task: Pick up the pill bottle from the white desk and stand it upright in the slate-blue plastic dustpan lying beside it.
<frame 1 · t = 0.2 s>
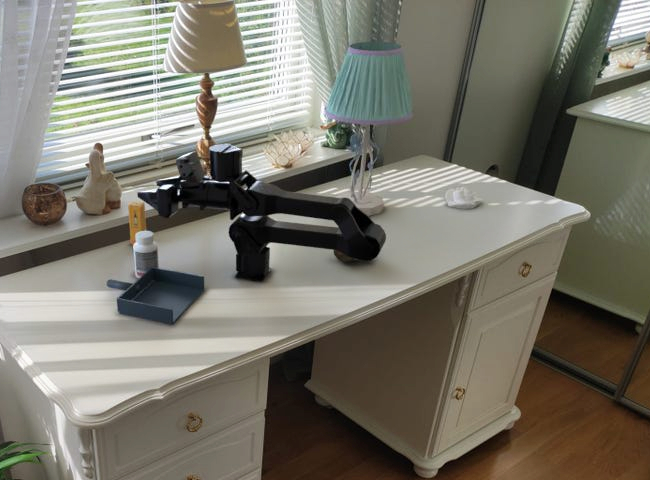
hand: (147, 188, 159), 17 cm above the table, tool horizontal, fingers open, 9 cm apart
supplement box: (139, 243, 175), on the table
table lamp: (358, 208, 191), on the table
dustpan: (163, 301, 149), on the table
pill bottle: (147, 275, 160), on the table
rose: (462, 203, 192), on the table
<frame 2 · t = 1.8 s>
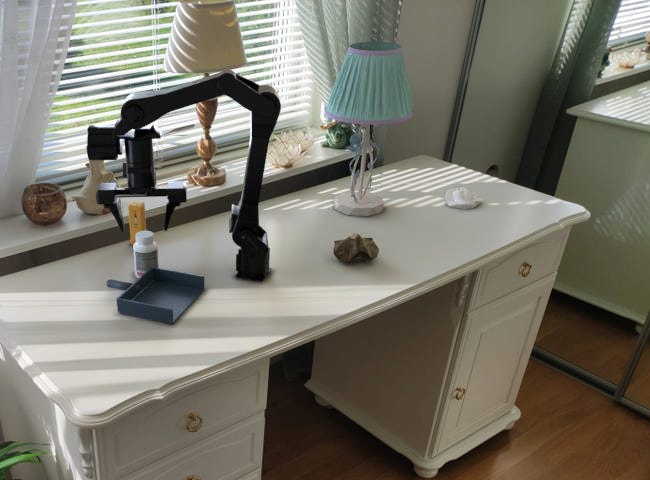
hand: (144, 230, 155), 10 cm above the table, tool pointing down, fingers open, 9 cm apart
nothing on the table moved.
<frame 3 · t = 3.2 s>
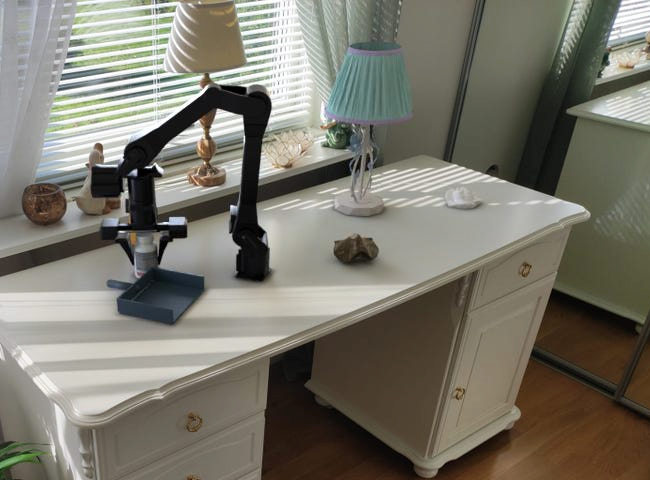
hand: (146, 264, 159), 3 cm above the table, tool pointing down, fingers closed on pill bottle, 5 cm apart
pill bottle: (147, 275, 160), on the table, touching gripper
everything else where it was.
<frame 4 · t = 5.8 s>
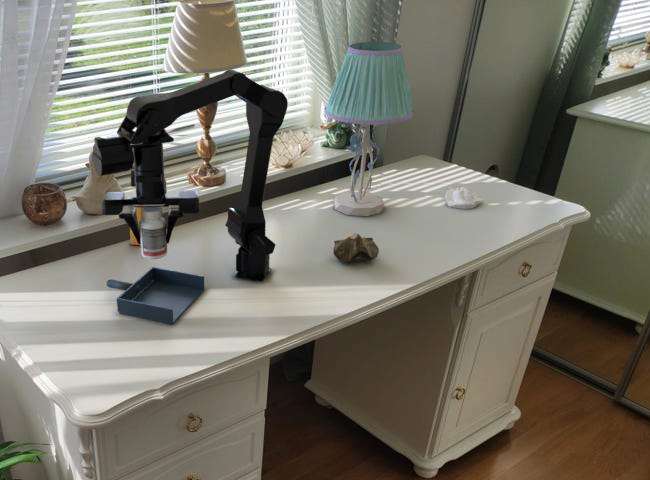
hand: (153, 242, 145), 12 cm above the table, tool pointing down, fingers closed on pill bottle, 5 cm apart
pill bottle: (154, 255, 146), point 9 cm above the table, touching gripper
everything else where it was.
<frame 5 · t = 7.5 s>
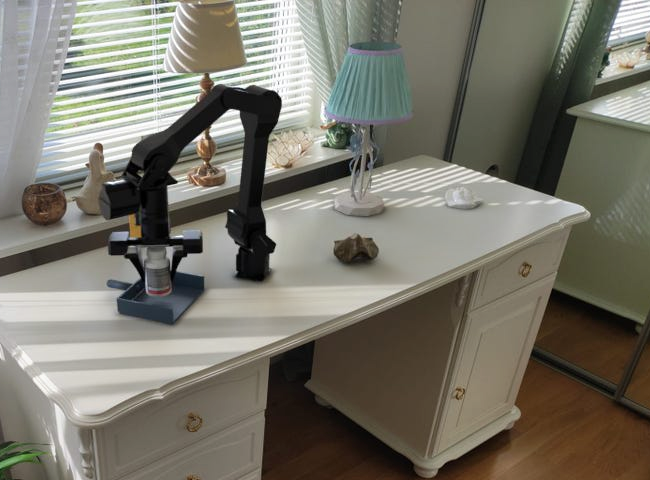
hand: (158, 281, 147), 5 cm above the table, tool pointing down, fingers closed on pill bottle, 5 cm apart
pill bottle: (158, 292, 149), point 2 cm above the table, touching gripper
everything else where it was.
when the fingers open (3 cm above the table, at t = 8.5 s): pill bottle stays where it is, resting on dustpan.
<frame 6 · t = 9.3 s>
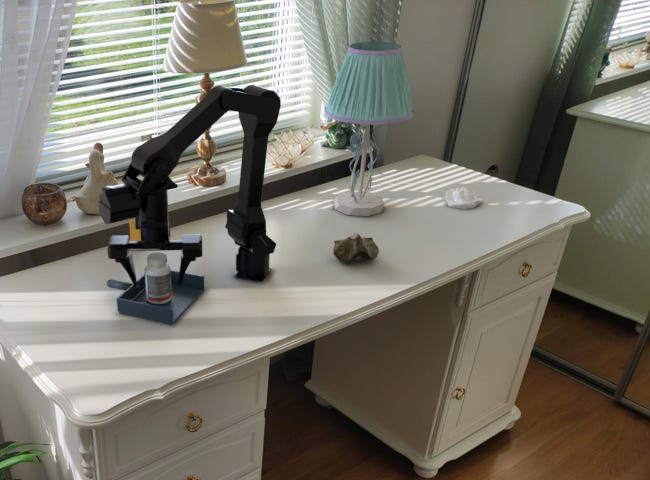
hand: (157, 284, 148), 4 cm above the table, tool pointing down, fingers open, 9 cm apart
pill bottle: (159, 299, 150), resting on dustpan
everything else where it was.
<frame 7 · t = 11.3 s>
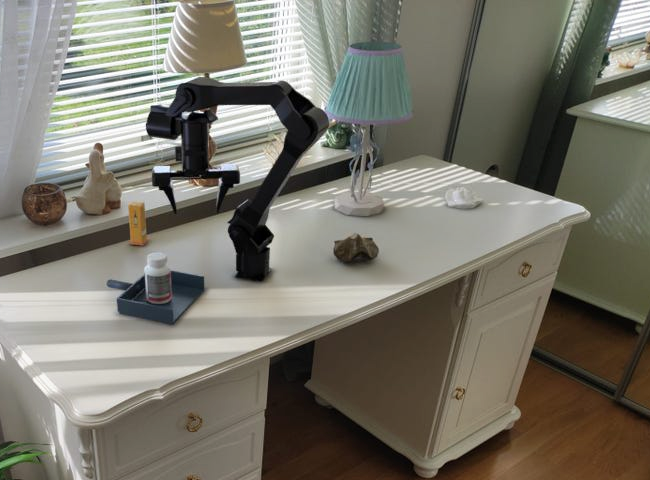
hand: (196, 213, 158), 12 cm above the table, tool pointing down, fingers open, 9 cm apart
nothing on the table moved.
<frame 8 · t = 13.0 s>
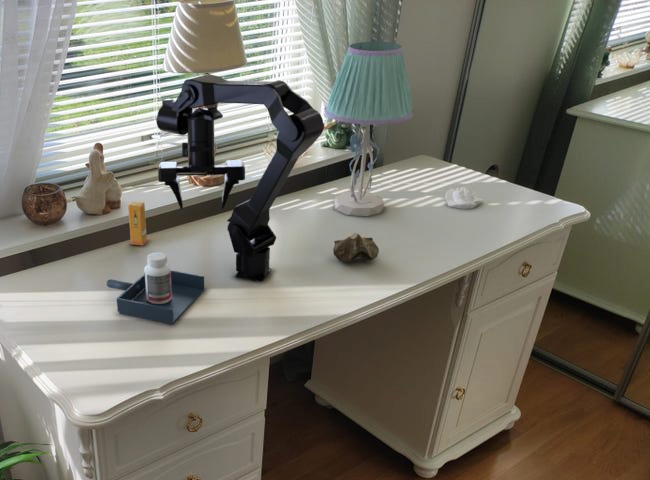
hand: (202, 208, 161), 12 cm above the table, tool pointing down, fingers open, 9 cm apart
nothing on the table moved.
at the end: pill bottle inside the target area in the dustpan (0.9 cm from its centre), point 0.2 cm above the dustpan's base; pill bottle tilted 0°; the gripper is holding nothing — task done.
